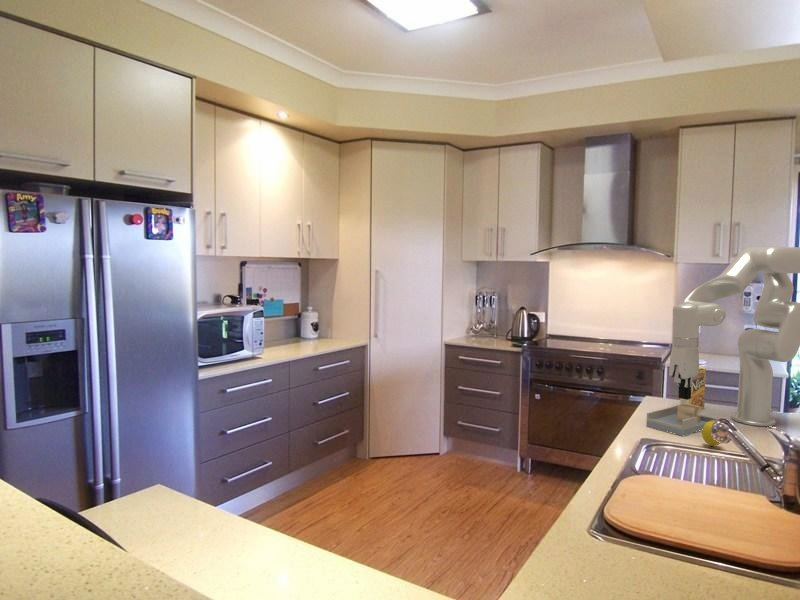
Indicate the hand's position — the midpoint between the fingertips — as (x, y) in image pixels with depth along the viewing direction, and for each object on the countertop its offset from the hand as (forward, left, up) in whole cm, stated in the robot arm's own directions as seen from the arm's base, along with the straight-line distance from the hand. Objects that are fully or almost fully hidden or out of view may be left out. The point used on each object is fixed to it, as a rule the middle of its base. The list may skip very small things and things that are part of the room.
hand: (684, 398), depth 178 cm
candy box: (-27, -12, -10) cm, 31 cm away
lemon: (+10, +14, -10) cm, 20 cm away
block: (-4, 0, -8) cm, 9 cm away
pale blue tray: (-3, -2, -10) cm, 11 cm away
